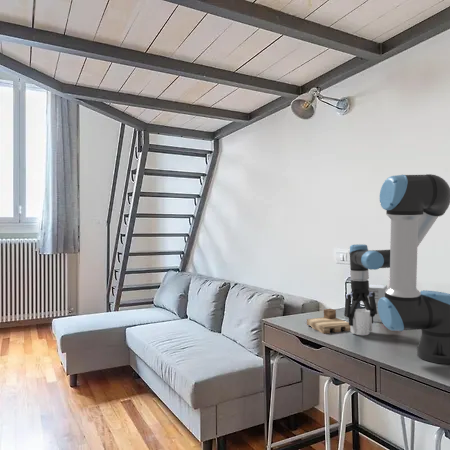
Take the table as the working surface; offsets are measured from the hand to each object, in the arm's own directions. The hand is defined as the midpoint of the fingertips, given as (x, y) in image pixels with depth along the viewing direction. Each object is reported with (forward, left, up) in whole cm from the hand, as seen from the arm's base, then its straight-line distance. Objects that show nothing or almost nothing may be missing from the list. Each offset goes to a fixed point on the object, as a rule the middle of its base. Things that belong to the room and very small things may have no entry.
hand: (361, 331), depth 179 cm
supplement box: (+18, -21, -1) cm, 28 cm away
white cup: (0, 0, -1) cm, 1 cm away
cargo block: (+19, +4, +2) cm, 20 cm away
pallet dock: (+14, +8, -1) cm, 16 cm away
